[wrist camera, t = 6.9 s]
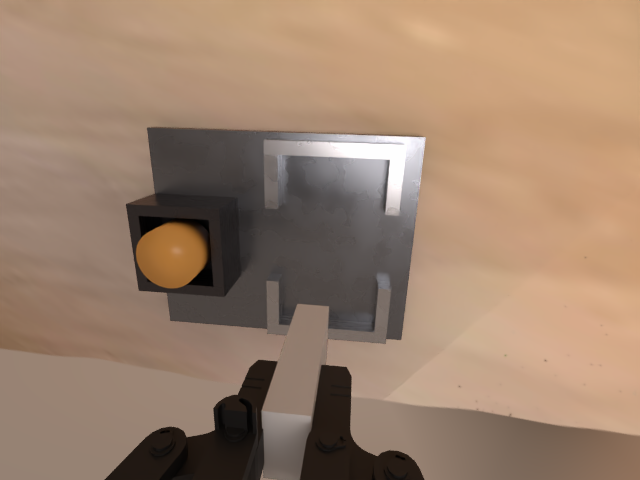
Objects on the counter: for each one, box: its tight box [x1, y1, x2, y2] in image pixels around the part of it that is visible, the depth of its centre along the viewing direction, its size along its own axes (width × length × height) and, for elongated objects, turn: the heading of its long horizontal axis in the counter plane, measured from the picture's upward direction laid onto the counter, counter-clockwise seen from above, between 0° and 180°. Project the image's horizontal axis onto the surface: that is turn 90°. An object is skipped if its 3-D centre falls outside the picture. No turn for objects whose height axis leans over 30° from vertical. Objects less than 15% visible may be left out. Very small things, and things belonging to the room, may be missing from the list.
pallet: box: [126, 127, 426, 344], centre depth 28 cm, size 21×17×6 cm
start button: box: [136, 218, 212, 288], centre depth 26 cm, size 4×4×3 cm
